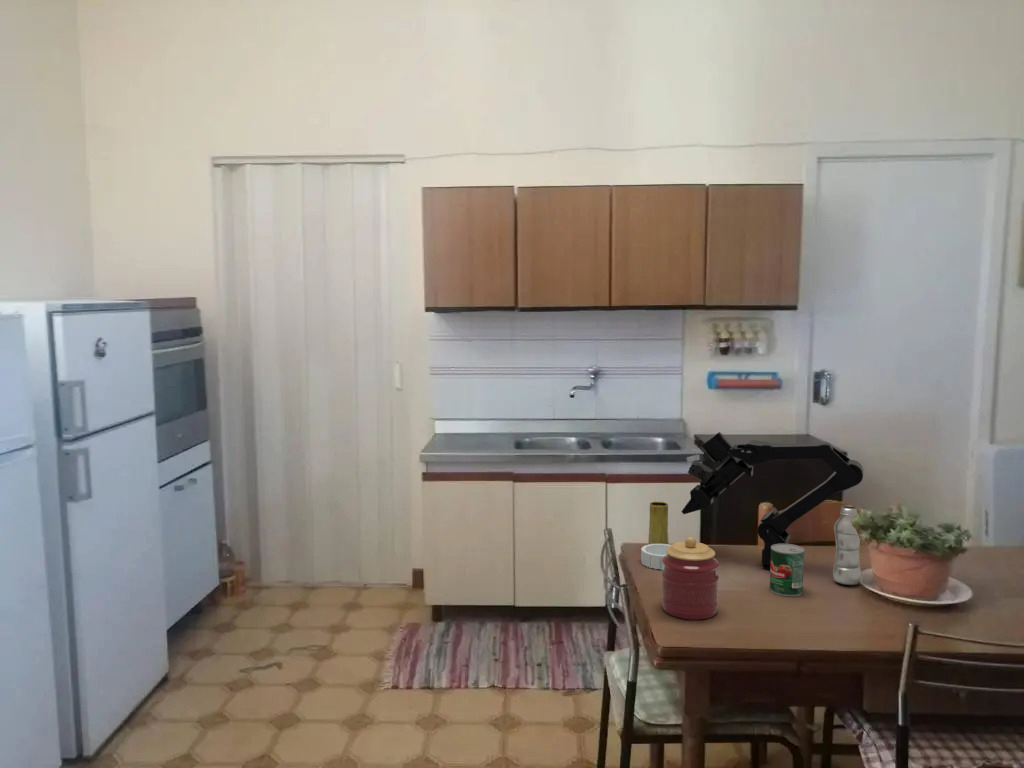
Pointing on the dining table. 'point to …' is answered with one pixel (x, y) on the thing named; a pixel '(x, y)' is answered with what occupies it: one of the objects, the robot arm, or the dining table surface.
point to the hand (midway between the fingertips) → (686, 509)
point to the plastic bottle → (846, 548)
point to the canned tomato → (786, 569)
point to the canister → (690, 580)
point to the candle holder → (654, 555)
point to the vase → (658, 523)
